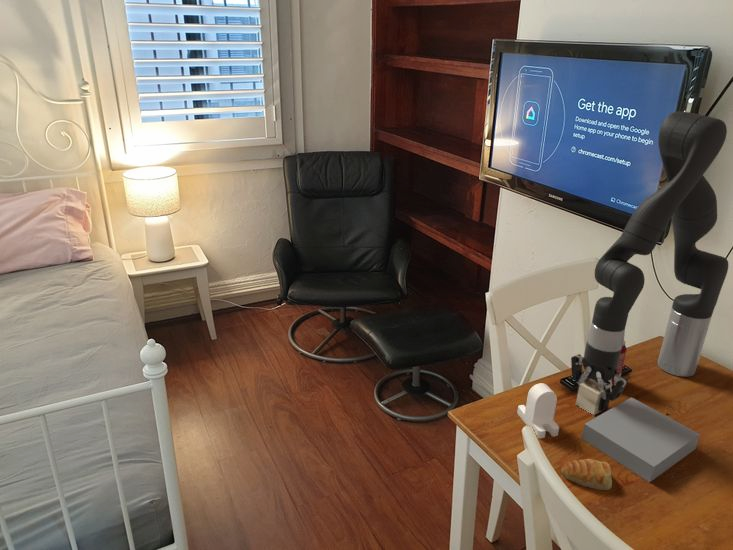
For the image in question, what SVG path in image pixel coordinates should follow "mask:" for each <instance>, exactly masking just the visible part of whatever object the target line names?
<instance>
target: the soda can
mask: <svg viewBox="0 0 733 550" xmlns="http://www.w3.org/2000/svg"><path fill="white" fill-rule="evenodd" d="M627 350H628V349H627V347H626V341H625V340H624V341H623V345H622V350H621V354H620V358H619V363H618V365H617V374H618V375H619V376H620V377H622V376H621V375H622V371H623V367H624V363H625V357H626V353H627ZM614 382H615V380H614V378H613V379H612V387H613V386H614V387H615V385H614ZM604 384H605V383H604Z"/></svg>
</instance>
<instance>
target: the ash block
mask: <svg viewBox="0 0 733 550" xmlns="http://www.w3.org/2000/svg"><path fill="white" fill-rule="evenodd" d="M577 390H578V389H577ZM576 396H577V397H576V399H575V400H576V401H575V406H576V405H578V406H579V407H578V406H577V407H578V408H579V409H581V408H582V410H583V409H584V410H583V411H585V410H586V411H587V412H586V411H585V412H586V413H588V412H589V413H588V414H590V413H591V414H593V415H594V416H596V415H597V413H598V414H599V412H600V411H599V410H598V408H599V403H600V399H601V390H600V389H599V385H598V383H597V382H596V381H595V380H592V379H590V380H587V381H585V382H584V383H581V384H580V386H579V390H578V395H577V394H576ZM600 413H601V412H600ZM591 414H590V415H591ZM595 414H596V415H595ZM593 415H592V416H593Z"/></svg>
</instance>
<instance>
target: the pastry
mask: <svg viewBox="0 0 733 550" xmlns="http://www.w3.org/2000/svg"><path fill="white" fill-rule="evenodd" d="M560 470H561V473H562V475H563V476H564V478H566V479H567V480H568V481H570V482H574V483H576V484H577V485H581V486H583V487H587V488H591V489H595V490H600V491H609V490H610V489H611V488H612V486H613V480H612V469H611V465H610V464H609V463H608V462H607V461H600V460H596V459H592V458H585V459H578V460H576V459H574V460H569V461H565V462H564V464H563V465H562V466H561V469H560Z"/></svg>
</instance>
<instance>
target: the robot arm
mask: <svg viewBox="0 0 733 550" xmlns="http://www.w3.org/2000/svg"><path fill="white" fill-rule="evenodd" d="M659 128H660V129H659V132H658V137H657V138H658V142H657V143H658V149H659V150H658V151H659V155H660V159H661V162H662V165H663V170H664V172H665V173H664V174H665V177H666V181H667V182H666V184H665V185H664V186H663V187H661V188H660V189H658V190H657V191H655V192H653V193H652V194H651V195H649V196H648V197H647V198H646V199H644V200H643V201H642V202H641V203H640V204H639V205H637V207H636V208H635V209H634V211H633V213H632V215H631V216H630V218H629V220H628V222H627V224H626V225H625V227H624V229H623V231H622V234H621V235H620V236H619V237H618V239H617V240H616V241H614V243H613V244H612V245H611V246H610V247H609V248H608V249H607V250H606V252H605V253H603V255H602V256H601V257H600V258H599V259H598V261H597V263H596V265H595V268H594V279H595V281H596V282H597V283H598V284H599V285H601V286H602V287H604V288H606V289H607V290H610V291H611V292H613V294H612V295H613V296H604V297H600V298H599V299H598V300H596V303H595V306H594V311H593V316H592V320H591V324H590V327H589V330H588V333H587V338H586V343H585V349H584V353H583V354H584V355H583V356H582V355H581V354H580V353H578V354H575V355H573V356H571V359H570V360H571V361H570V363H571V364H570V365H571V367H570V368H571V379H572V380H573V381H576V382H577V384H578V385H577V386H578V387H577V391H576V396H577V395H578V390H579V386H580V384H581V383H584V382H585V381H587V380H590V379H592V380H595V381H596V382H597V383H598V385H599V389H600V390H601V399H600V403H599V408H598V410H599V411H601V412H603V411H605V410H607V409H608V408H609V407H610V406H609V405H610V401H611V402H613V401H615V400H616V399H618V398H620V397H621V395H622V393H623V392H624V390H625V388H626V386H627V385H628V383H629V379H628V378H626V377H622V376H619V375H618V374H617V365H618V363H619V358H620V354H621V350H622V345H623V341H625V333H626V332H625V331H626V326H627V322H628V317H629V313H630V311H631V310H632V308H633V306H634V304H635V302H636V301H637V299H638V297H639V296H640V294H641V293H642V291H643V289H644V285H645V274H644V271H643V270H642V269H641V268H640V267H639V266H637V265H634V264H632V263H631V262H628V261H629V260H630V259H632V258H633V256H635V255H641V256H649V255H650V254H651V253H652V252H653V250H655V248H656V246H657V244H658V242H659V241H660V239H661V237H662V236H663V234H664V232H665V230H666V227H667V225H668V224H669V222H670V221H671V224H672V230H673V240H674V254H673V255H674V256H673V272H674V277H675V278H676V280H677V281H678V282H679V283H682V284H684V285H687V286H689V287H693V288H696V289H699V290H700V292H699V293H697V294H695V293H694V294H693V293H689V294H688V293H684V294H679V295H677V296H676V297H674V299H673V302H672V305H671V310H670V313H669V317H668V321H667V324H666V328H665V329H666V330H665V332H664V336H663V339H662V344H661V348H660V352H659V356H658V359H657V366H658V367H659V368H660V369H661V370H662V371H663V372H665V373H668V374H671V375H673V376H677V377H684V378H687V377H692V376H694V375H695V373H696V371H697V368H698V365H699V360H700V358H701V355H702V354H701V353H702V351H703V348H704V343H705V341H706V337H707V334H708V330H709V327H710V324H711V320H712V318H713V317H712V316H713V314H714V310H715V308H716V306H717V303H718V300H719V297H720V294H721V291H722V288H723V285H724V282H725V280H726V278H727V274H728V272H729V271H728V270H729V261H728V260H729V259H727V258H726V257H724V256H721V255H718V254H715V253H711V252H708V251H704V250H701V249H699V248H697V245H696V243H698V241H699V240H701V239H702V238H704V237H705V236H706V235H707V234H709V233H710V231H712V229H713V228H714V227H715V225H716V223H717V221H718V200H717V195H716V193H715V190H714V189H713V187H712V186H711V184H710V182H709V181H708V180H707V179H706V177H705V176H704V174H705V173H706V172H707V170H708V169H709V168H710V166H711V165H712V164H713V162H714V161H715V159H716V158H717V156H718V155H719V153H720V151H721V150H722V148H723V146H724V143H725V141H726V140H727V134H728V129H727V128H728V127H727V124H726V122H724V121H723V120H721V118H716V117H711V116H709V115H703V114H699V113H693V112H689V111H675V112H672V113H670V114H668V115H667V116H666V117H665V119H664V120H663V121H662V123H661V125H660V127H659ZM583 368H584V371H583ZM613 378H614V380H615V382H614V387H613V386H612V379H613ZM604 383H605V384H604ZM612 387H613V389H612Z"/></svg>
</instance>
